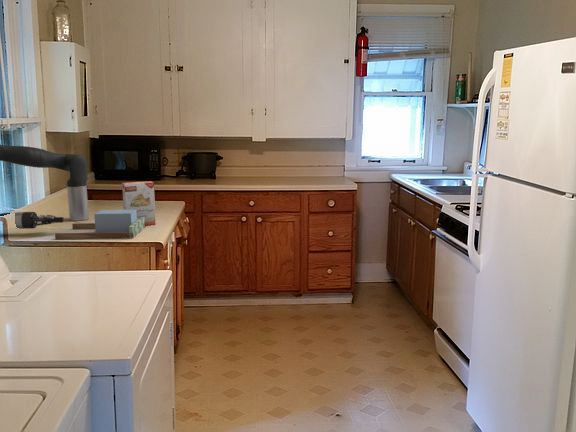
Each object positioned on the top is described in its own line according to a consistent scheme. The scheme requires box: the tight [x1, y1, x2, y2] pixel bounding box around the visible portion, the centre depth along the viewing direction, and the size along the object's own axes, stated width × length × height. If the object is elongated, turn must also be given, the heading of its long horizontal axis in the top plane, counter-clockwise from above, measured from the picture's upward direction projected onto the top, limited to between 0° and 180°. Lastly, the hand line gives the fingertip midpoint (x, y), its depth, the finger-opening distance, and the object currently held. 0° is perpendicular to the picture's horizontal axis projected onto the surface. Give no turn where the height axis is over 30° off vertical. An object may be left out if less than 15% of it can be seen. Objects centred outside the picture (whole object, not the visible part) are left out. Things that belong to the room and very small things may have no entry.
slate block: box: [93, 209, 137, 233], centre depth 251 cm, size 10×16×10 cm, turn 91°
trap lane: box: [54, 217, 146, 240], centre depth 251 cm, size 22×34×5 cm, turn 91°
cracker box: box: [121, 180, 157, 227], centre depth 266 cm, size 14×6×21 cm, turn 117°
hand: (63, 219), depth 250 cm, fingers closed
